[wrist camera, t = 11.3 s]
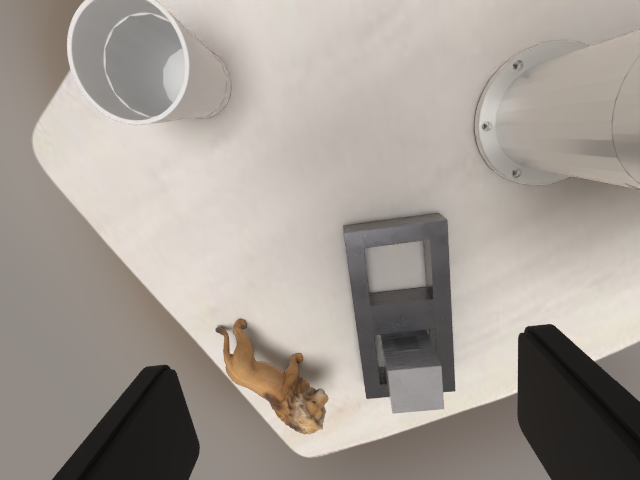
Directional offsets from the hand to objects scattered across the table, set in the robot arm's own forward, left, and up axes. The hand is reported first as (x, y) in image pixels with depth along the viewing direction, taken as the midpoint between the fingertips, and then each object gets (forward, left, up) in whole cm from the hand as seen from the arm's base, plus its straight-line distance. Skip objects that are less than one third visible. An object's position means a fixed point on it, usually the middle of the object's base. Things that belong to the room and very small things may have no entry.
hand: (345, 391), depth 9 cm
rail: (-5, +13, -28) cm, 31 cm away
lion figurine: (+10, +18, -29) cm, 35 cm away
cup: (+12, -13, -28) cm, 34 cm away
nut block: (-5, +18, -28) cm, 34 cm away
